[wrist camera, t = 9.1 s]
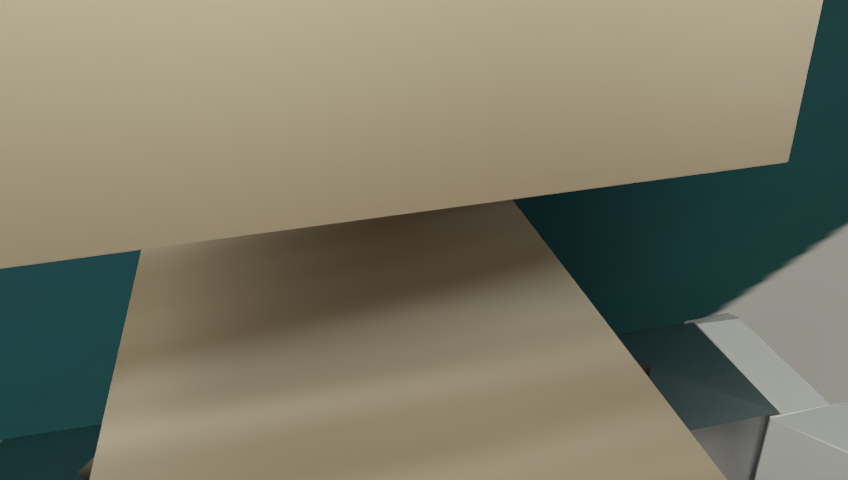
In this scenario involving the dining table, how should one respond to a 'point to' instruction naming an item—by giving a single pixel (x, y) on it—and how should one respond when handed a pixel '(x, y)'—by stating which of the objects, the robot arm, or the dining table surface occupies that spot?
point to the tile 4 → (368, 108)
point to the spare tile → (381, 362)
